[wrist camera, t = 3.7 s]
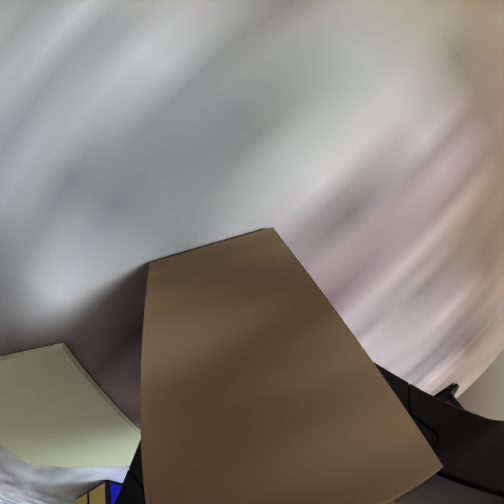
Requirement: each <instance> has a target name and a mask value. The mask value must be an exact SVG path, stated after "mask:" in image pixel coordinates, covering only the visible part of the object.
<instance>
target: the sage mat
mask: <svg viewBox="0 0 504 504" xmlns="http://www.w3.org/2000/svg"><path fill="white" fill-rule="evenodd" d="M140 439H141V430H140V429H138V428H137V427H136V426H135V425H134V424H133V423H132V422H131V421H130V420H129V419H128V418H127V417H126V416H125V415H124V414H123V413H122V412H121V410H120V409H119V408H118V407H117V406H116V405H115V404H114V403H113V402H112V401H111V400H110V399H109V398H108V397H107V395H106V394H105V393H104V392H103V391H102V390H101V389H100V387H99V386H98V385H97V384H96V383H95V382H94V380H93V379H92V378H91V377H90V376H89V374H88V373H87V372H86V371H85V370H84V368H83V367H82V366H81V365H80V363H79V362H78V361H77V359H76V358H75V357H74V356H73V354H72V353H71V352H70V350H69V349H68V348H67V346H66V345H65V343H64V342H63V343H59V344H54V345H50V346H45V347H41V348H36V349H31V350H27V351H22V352H17V353H12V354H7V355H2V356H0V445H1V446H2V447H3V448H5V449H6V450H7V451H9V452H10V453H11V454H13V455H14V456H16V457H17V458H18V459H20V460H21V461H23V462H24V463H26V464H31V465H41V466H55V467H118V466H130V464H131V462H132V459H133V457H134V454H135V452H136V449H137V447H138V444H139V442H140Z"/></svg>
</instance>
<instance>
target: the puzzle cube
mask: <svg viewBox="0 0 504 504" xmlns="http://www.w3.org/2000/svg"><path fill="white" fill-rule="evenodd" d="M121 486H122V483H118V482H114V481H110V480H107V481H106V482H104V483H103V484H101V485H100V486H98V487H96V488H95V489H93V490H92V491H90V492H88V493H86V494H85V495H83V496H81V497H80V498H78V499H76V504H114V502H115V500H116V498H117V496H118V494H119V491H120V489H121Z"/></svg>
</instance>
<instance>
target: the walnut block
mask: <svg viewBox="0 0 504 504" xmlns="http://www.w3.org/2000/svg"><path fill="white" fill-rule="evenodd" d="M140 424H141V453H142V470H143V483H144V494H145V503H146V504H396V503H397V502H398V501H400V500H401V499H403V498H404V497H405V496H407V495H408V494H410V493H411V492H412V491H414V490H415V489H416V488H418V487H419V486H420V485H422V484H423V483H424V482H425V481H427V480H428V479H429V478H430V477H432V476H433V475H434V474H435V473H437V472H438V471H439V470H440V469H441V468H442V467H443V465H442V464H441V462H440V461H439V459H438V457H437V456H436V454H435V453H434V451H433V450H432V448H431V447H430V445H429V444H428V442H427V440H426V439H425V437H424V436H423V434H422V433H421V431H420V430H419V428H418V427H417V425H416V424H415V422H414V421H413V419H412V418H411V416H410V415H409V413H408V412H407V411H406V409H405V408H404V406H403V405H402V403H401V402H400V400H399V399H398V397H397V396H396V394H395V393H394V392H393V390H392V389H391V387H390V386H389V384H388V383H387V381H386V380H385V379H384V377H383V376H382V374H381V373H380V371H379V370H378V369H377V367H376V366H375V364H374V363H373V361H372V360H371V359H370V357H369V356H368V354H367V353H366V352H365V350H364V349H363V347H362V346H361V345H360V343H359V342H358V340H357V339H356V338H355V336H354V335H353V334H352V332H351V331H350V329H349V328H348V327H347V325H346V324H345V323H344V321H343V320H342V318H341V317H340V316H339V314H338V313H337V312H336V310H335V309H334V308H333V306H332V305H331V303H330V302H329V301H328V299H327V298H326V297H325V295H324V294H323V293H322V291H321V290H320V289H319V287H318V286H317V285H316V283H315V282H314V281H313V279H312V278H311V277H310V275H309V274H308V273H307V271H306V270H305V269H304V267H303V266H302V265H301V263H300V262H299V261H298V260H297V258H296V257H295V256H294V254H293V253H292V252H291V250H290V249H289V248H288V246H287V245H286V244H285V243H284V241H283V240H282V239H281V237H280V236H279V235H278V234H277V232H276V231H275V230H274V228H273V227H272V228H268V229H264V230H261V231H257V232H254V233H250V234H247V235H243V236H240V237H236V238H233V239H229V240H226V241H222V242H219V243H215V244H212V245H208V246H205V247H201V248H198V249H195V250H191V251H188V252H184V253H181V254H177V255H174V256H171V257H167V258H164V259H161V260H157V261H154V262H151V263H149V270H148V278H147V288H146V298H145V309H144V321H143V336H142V354H141V384H140Z"/></svg>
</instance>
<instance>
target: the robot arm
mask: <svg viewBox="0 0 504 504" xmlns="http://www.w3.org/2000/svg"><path fill="white" fill-rule="evenodd" d="M373 363H374V362H373ZM374 364H375V366H376V367H377V369H378V370H379V371H380V373H381V374H382V376H383V377H384V379H385V380H386V381H387V383H388V384H389V386H390V387H391V389H392V390H393V392H394V393H395V394H396V396H397V397H398V399H399V400H400V402H401V403H402V405H403V406H404V408H405V409H406V411H407V412H408V413H409V415H410V416H411V418H412V419H413V421H414V422H415V424H416V425H417V427H418V428H419V430H420V431H421V433H422V434H423V436H424V437H425V439H426V440H427V442H428V444H429V445H430V447H431V448H432V450H433V451H434V453H435V454H436V456H437V457H438V459H439V461H440V462H441V464H442V465H443V467H442V468H441V469H440V470H439V471H438V472H437V473H435V474H434V475H433V476H432V477H430V478H429V479H428V480H427V481H425V482H424V483H423V484H422V485H420V486H419V487H418V488H416V489H415V490H414V491H412V492H411V493H410V494H408V495H407V496H405V497H404V498H403V499H401V500H400V501H398V502H397V503H396V504H504V421H498V420H492V419H488V418H485V417H482V416H479V415H476V414H473V413H471V412H469V411H466V410H464V408H463V407H462V406H461V404H460V403H459V402H458V401H457V399H456V398H455V397H454V395H455V393H456V392H457V390H458V388H459V386H458V384H457V383H456V384H454V385H453V386H451V387H450V388H449V389H447V390H446V391H444V392H443V393H441V394H440V395H438V396H437V397H433V396H431V395H430V394H428V393H426V392H424V391H422V390H420V389H418V388H417V387H415V386H413V385H412V384H409V383H408V382H406V381H404V380H403V379H401V378H399V377H398V376H396V375H394V374H393V373H391V372H389V371H387V370H386V369H384V368H382V367H381V366H379V365H377V364H376V363H374ZM129 469H130V470H128V472H127V474H126V477H125V479H124V482H123V484H122V486H121V489H120V491H119V494H118V496H117V498H116V500H115V502H114V504H146V503H145V494H144V483H143V470H142V453H141V439H140V442H139V444H138V447H137V449H136V452H135V454H134V457H133V459H132V462H131V464H130V467H129Z"/></svg>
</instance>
